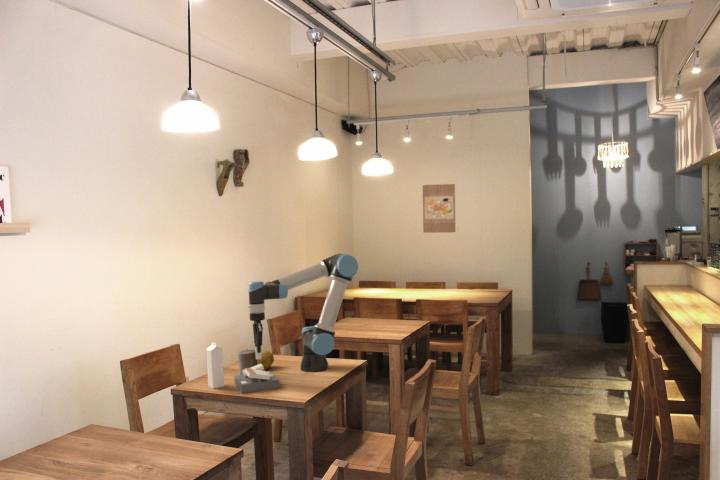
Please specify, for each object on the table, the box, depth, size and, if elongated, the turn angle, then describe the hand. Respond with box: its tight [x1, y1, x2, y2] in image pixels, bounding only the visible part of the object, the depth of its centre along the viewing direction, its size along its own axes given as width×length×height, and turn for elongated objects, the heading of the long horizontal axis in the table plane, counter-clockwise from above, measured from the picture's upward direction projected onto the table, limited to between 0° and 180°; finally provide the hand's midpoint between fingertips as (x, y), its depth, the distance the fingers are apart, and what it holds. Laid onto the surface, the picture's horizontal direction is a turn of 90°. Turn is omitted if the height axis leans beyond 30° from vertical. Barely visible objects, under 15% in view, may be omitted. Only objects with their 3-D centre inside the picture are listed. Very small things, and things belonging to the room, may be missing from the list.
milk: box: [205, 341, 225, 389], centre depth 298 cm, size 6×6×22 cm
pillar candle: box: [237, 349, 257, 376], centre depth 313 cm, size 10×10×15 cm
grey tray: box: [233, 371, 280, 394], centre depth 295 cm, size 18×19×5 cm
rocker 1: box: [242, 364, 265, 377], centre depth 301 cm, size 10×5×2 cm, turn 112°
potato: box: [257, 349, 275, 371], centre depth 331 cm, size 10×12×10 cm
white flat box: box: [247, 371, 270, 380], centre depth 289 cm, size 10×5×2 cm, turn 112°
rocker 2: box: [244, 368, 268, 375], centre depth 295 cm, size 10×5×2 cm, turn 112°
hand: (258, 358), depth 302 cm, fingers closed
